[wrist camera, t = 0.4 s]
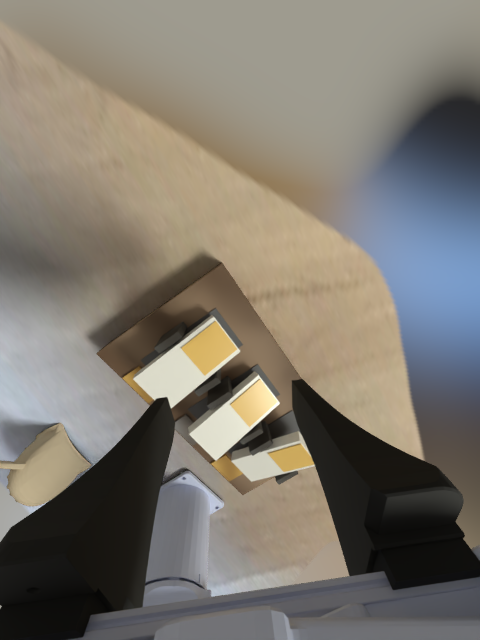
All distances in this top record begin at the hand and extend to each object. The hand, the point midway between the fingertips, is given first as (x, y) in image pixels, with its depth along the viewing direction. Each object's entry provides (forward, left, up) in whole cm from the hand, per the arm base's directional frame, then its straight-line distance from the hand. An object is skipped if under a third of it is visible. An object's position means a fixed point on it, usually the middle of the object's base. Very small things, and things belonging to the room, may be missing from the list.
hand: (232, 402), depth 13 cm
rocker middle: (-3, -6, -7) cm, 9 cm away
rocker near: (-3, +1, -7) cm, 7 cm away
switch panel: (-3, -6, -11) cm, 13 cm away
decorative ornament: (-23, 0, -11) cm, 26 cm away
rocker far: (-3, -13, -7) cm, 15 cm away
